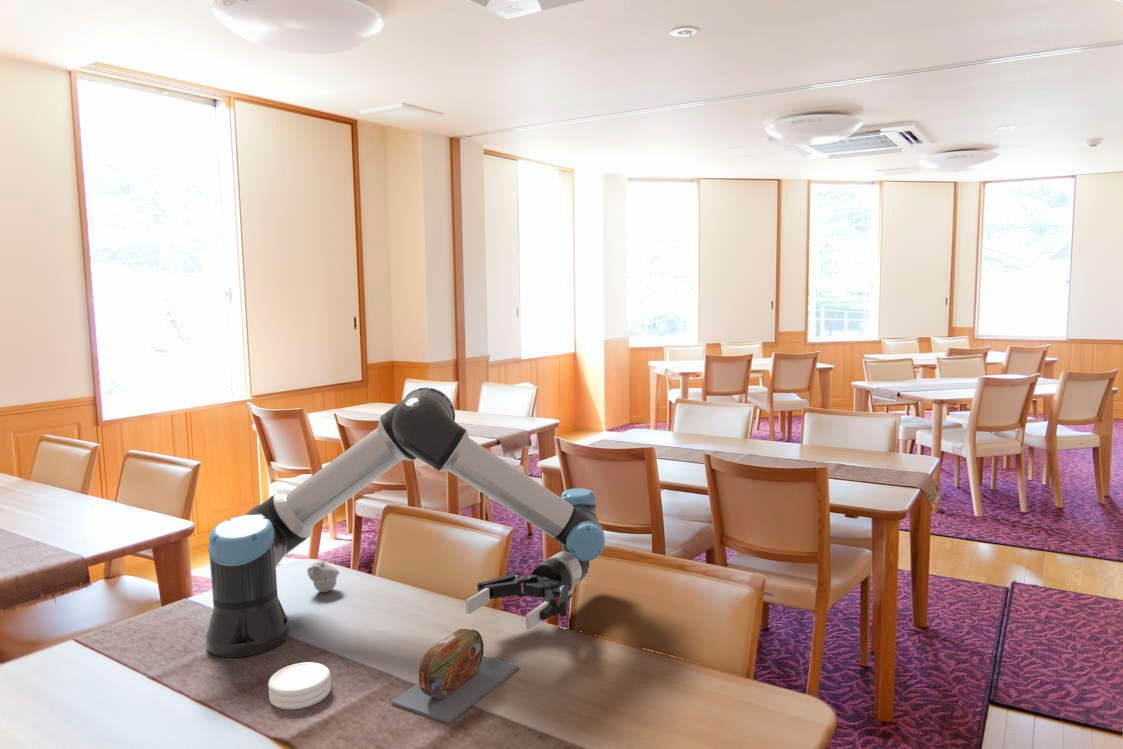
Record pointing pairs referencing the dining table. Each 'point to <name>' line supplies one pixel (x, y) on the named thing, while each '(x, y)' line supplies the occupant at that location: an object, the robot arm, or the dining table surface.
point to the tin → (450, 663)
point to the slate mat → (457, 692)
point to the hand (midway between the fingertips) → (496, 614)
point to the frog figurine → (323, 576)
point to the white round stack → (299, 685)
